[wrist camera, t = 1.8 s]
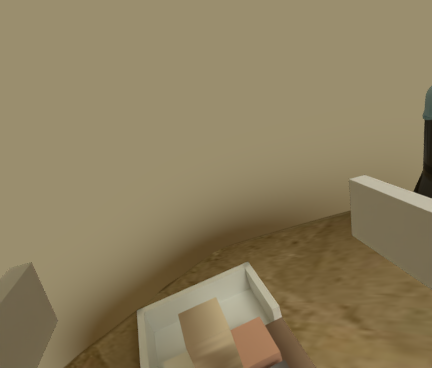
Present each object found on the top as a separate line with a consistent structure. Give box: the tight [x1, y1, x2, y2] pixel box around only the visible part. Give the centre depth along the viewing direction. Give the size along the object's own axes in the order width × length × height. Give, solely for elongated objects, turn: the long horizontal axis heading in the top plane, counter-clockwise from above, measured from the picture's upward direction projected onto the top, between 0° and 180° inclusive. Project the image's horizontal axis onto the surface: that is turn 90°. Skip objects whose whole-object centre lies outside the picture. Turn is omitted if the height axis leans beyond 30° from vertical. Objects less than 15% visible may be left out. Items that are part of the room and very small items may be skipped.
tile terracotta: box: [230, 316, 282, 368], centre depth 33 cm, size 5×5×3 cm
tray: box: [137, 262, 282, 368], centre depth 41 cm, size 18×10×5 cm, turn 107°
